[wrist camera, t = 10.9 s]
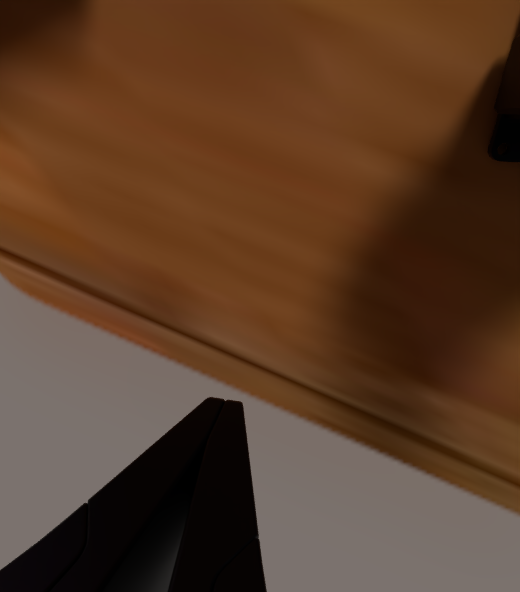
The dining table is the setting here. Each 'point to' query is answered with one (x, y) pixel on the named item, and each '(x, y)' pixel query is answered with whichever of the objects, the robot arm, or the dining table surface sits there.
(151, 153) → the dining table surface
